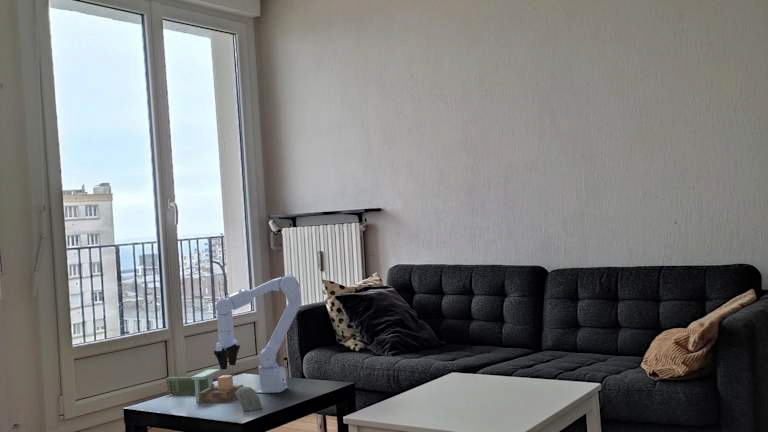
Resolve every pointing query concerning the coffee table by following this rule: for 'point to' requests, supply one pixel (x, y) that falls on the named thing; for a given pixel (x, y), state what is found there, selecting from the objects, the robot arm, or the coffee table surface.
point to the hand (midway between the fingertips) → (228, 367)
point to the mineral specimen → (248, 398)
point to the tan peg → (225, 382)
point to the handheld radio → (185, 385)
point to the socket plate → (218, 394)
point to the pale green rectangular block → (203, 375)
